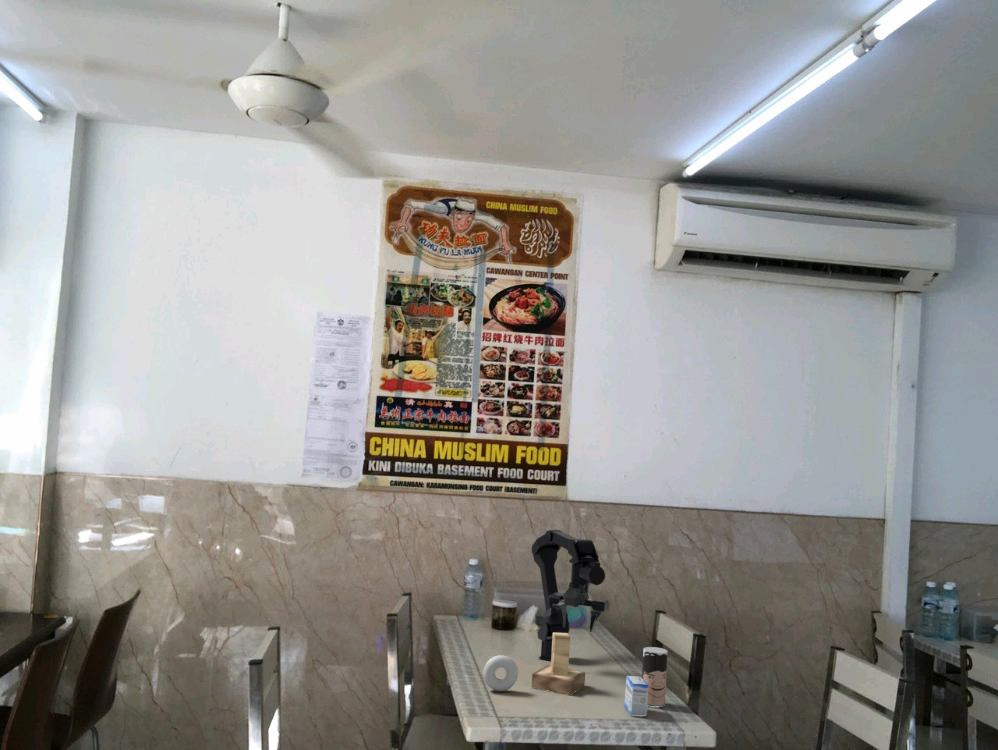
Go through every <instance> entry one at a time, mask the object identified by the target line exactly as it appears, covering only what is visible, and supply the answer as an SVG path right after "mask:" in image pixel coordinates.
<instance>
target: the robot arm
mask: <svg viewBox="0 0 998 750" xmlns="http://www.w3.org/2000/svg"><path fill="white" fill-rule="evenodd" d="M561 548H563V549H565V550H567V553H568V555H569V556H570V557H571V558H570V559H569V560H568V563H570V564H571V574H570V581H569V585H568V589H567V590H566V591H565V592H564V593H560V592H559V589H558V583H557V576H556V575H557V574H556V570H555V568H556V567H555V564H556V562H557V560H558V552H559V551H560V550H561ZM531 553H532V557H533V561H534V563H536V565H537V566H538V568H539V571H540V578H541V579H540V580H541V585H542V591H543V599H544V606H545V612H544V615H543V617H542V625H541V626H540V628H539V629H538V631H537V639H539V640H541V646H540V649H541V650H540V656H538V659H539V658H540V659H539V660H544V659H545V661H549V660H550V661H549V662H551V655H552V638H553V633H568V634H569V632H570V628H571V627H570V622H569V617H568V616H569V615H568V613H567V607H568V606H570V607H573V608H578V607H579V606H585V607H591V609H592V610H591V611H590V615H591V617H590V623H589V632H590V633H592V632H593V631H594V628H595V626H596V623H597V621H598V619H599V617H600V616H601V614H602V613H604V612H606V611H609V610H610V604H611V603H610V602H609V600H608V599H602V598H596V599H594V600H590V595H589V587H590V586H591V585H594V586H599V585H601V584H602V583H603V582H604V581H605V579H606V573H605V570H604V569H603V568H602V567H601V563H600V560H599V555H598V552H597V550H596V546H595V544H594V542H593V540H592V539H585V538H576V537H574V536H572V535H570V534H568V533H565V532H564V531H563V530H560V529H549V530H547V531H546V532H545V533H544V534H543V535H541V536H539V537H538V538H536V540H535V541H534V542H533V544H532V546H531Z"/></svg>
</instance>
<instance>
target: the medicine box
mask: <svg viewBox="0 0 998 750" xmlns="http://www.w3.org/2000/svg"><path fill="white" fill-rule="evenodd" d="M625 677H626V678H625V693H624V705H623V707H624V709H625V708H626V709H627V710H626V709H625V710H626V711H627V712H628V714H629V713H630V714H631V715H647V716H648V707H647V704H648V684H647V683H646V682H645V681H644V680H643V679H642V676H637V675H626V676H625ZM630 714H629V715H630ZM631 715H630V716H631Z"/></svg>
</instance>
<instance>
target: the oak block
mask: <svg viewBox="0 0 998 750" xmlns="http://www.w3.org/2000/svg"><path fill="white" fill-rule="evenodd" d="M570 645H571V635H569V633H553V638H552V655H551V661H550V666H551V672H552V674H553V675H568V669H569V666H570V664H569V663H570V651H571V649H570Z"/></svg>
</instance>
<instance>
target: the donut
mask: <svg viewBox="0 0 998 750" xmlns="http://www.w3.org/2000/svg"><path fill="white" fill-rule="evenodd" d="M500 668H503V669H504V670H505V671H506V673H505V676H504V677H503V678H498V677H497V675H496V671H497V670H498V669H500ZM518 668H519V667H518V666H517V664H516V662H515V661H514V660H513V658H510V657H509V656H507V655H503V654H500V655H495V656H492V657H490V659H489V660H488V661H487V662H486V663H485V665H484V668H483V673H482V675H483V680H484V683H485V684H486V685H487V686H488V687H489V689H491V690H493V691H494V692H495V691H496V692H506V691H508V690H510V689H511V688H512V687H514V686H515V684H516V682H517V680H518V676H519V669H518Z"/></svg>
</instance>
